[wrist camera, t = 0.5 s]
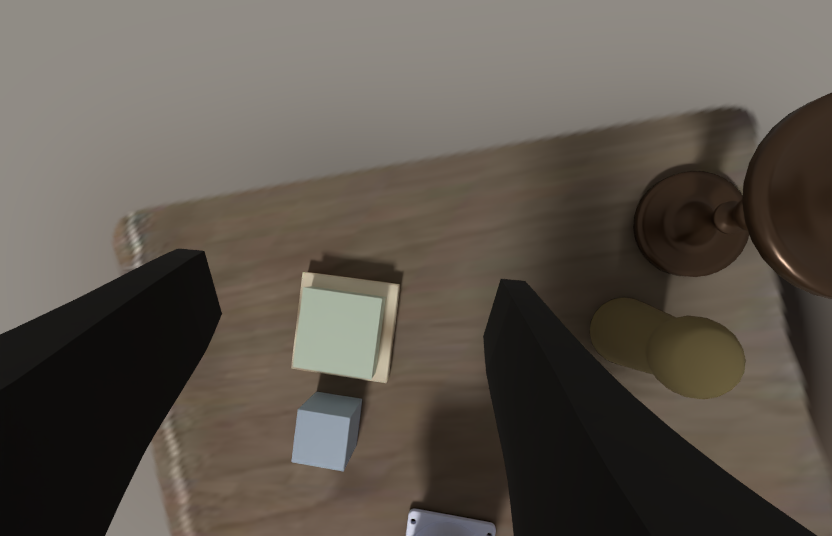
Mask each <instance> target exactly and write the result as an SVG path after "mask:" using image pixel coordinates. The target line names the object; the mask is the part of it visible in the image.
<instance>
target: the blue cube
mask: <svg viewBox="0 0 832 536" xmlns="http://www.w3.org/2000/svg"><path fill="white" fill-rule="evenodd" d="M361 406H362V399H360V398H354V397H347V396H341V395H335V394H329V393H323V392H315V393H314V394H313V395H312V396H311V397H310V398H309V399H308V400H307V401H306V402H305V403H304V404H303V405H302V406H301V407H300V408H299V409H298V413H297V421H296V430H295V438H294V446H293V454H292V462H294V463H300V464H305V465H311V466H316V467H322V468H328V469H333V470H339V471H344V469H345V467H346V465H347V463H348V461H349V459H350V457H351V455H352V453H353V451H354V449H355V447H356V445H357V437H358V429H359V422H360V414H361Z"/></svg>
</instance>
